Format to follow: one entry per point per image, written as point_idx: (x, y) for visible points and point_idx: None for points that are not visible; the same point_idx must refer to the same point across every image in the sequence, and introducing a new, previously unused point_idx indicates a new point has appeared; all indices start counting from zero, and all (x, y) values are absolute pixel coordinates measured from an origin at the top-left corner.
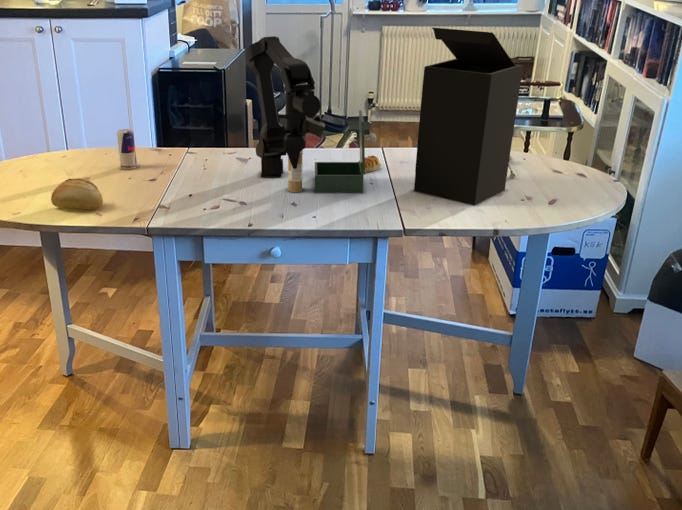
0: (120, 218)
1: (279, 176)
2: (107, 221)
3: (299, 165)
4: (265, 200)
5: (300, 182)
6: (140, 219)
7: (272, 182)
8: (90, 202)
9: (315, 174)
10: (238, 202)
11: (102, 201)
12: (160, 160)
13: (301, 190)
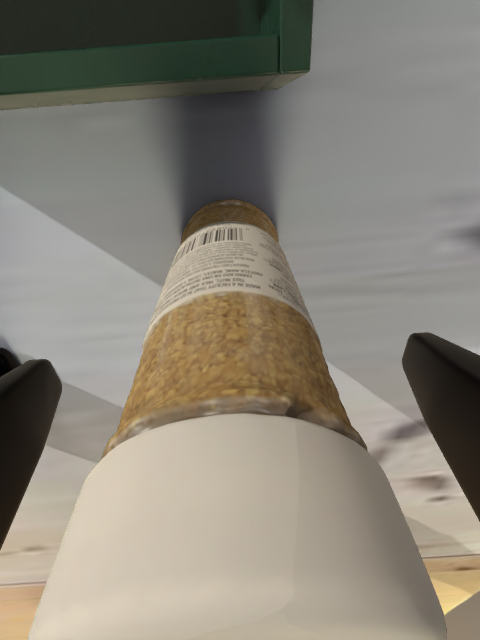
0: (447, 582)
1: (9, 357)
2: (458, 589)
3: (305, 313)
4: (390, 368)
5: (264, 230)
6: (468, 565)
7: (107, 372)
8: None
9: (260, 64)
10: (393, 442)
11: None
12: (10, 607)
13: (252, 205)
